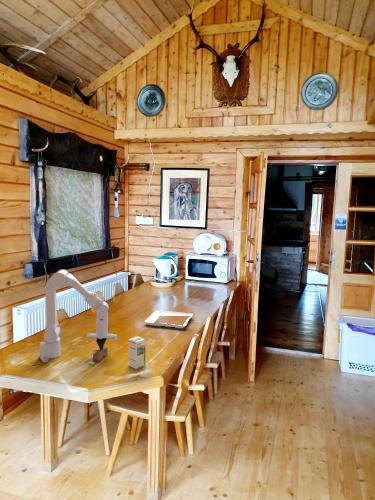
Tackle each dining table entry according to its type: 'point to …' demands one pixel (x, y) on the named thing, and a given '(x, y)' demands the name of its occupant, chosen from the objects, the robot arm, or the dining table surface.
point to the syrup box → (137, 352)
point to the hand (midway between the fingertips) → (101, 352)
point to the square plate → (156, 314)
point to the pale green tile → (91, 362)
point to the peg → (99, 354)
